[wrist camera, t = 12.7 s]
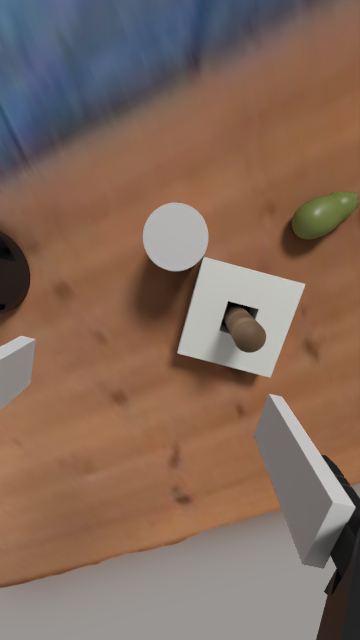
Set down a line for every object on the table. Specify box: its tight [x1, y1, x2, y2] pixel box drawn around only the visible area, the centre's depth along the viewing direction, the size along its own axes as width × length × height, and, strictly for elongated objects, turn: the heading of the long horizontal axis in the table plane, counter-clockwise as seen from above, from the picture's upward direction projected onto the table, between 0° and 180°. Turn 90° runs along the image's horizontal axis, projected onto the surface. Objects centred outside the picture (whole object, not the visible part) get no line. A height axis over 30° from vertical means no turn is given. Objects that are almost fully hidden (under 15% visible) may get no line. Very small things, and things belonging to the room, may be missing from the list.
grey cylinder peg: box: [143, 203, 208, 271], centre depth 39 cm, size 8×8×12 cm
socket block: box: [177, 257, 305, 377], centre depth 45 cm, size 16×16×5 cm
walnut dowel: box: [223, 303, 266, 353], centre depth 40 cm, size 4×4×14 cm
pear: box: [292, 191, 359, 239], centre depth 41 cm, size 6×5×10 cm
